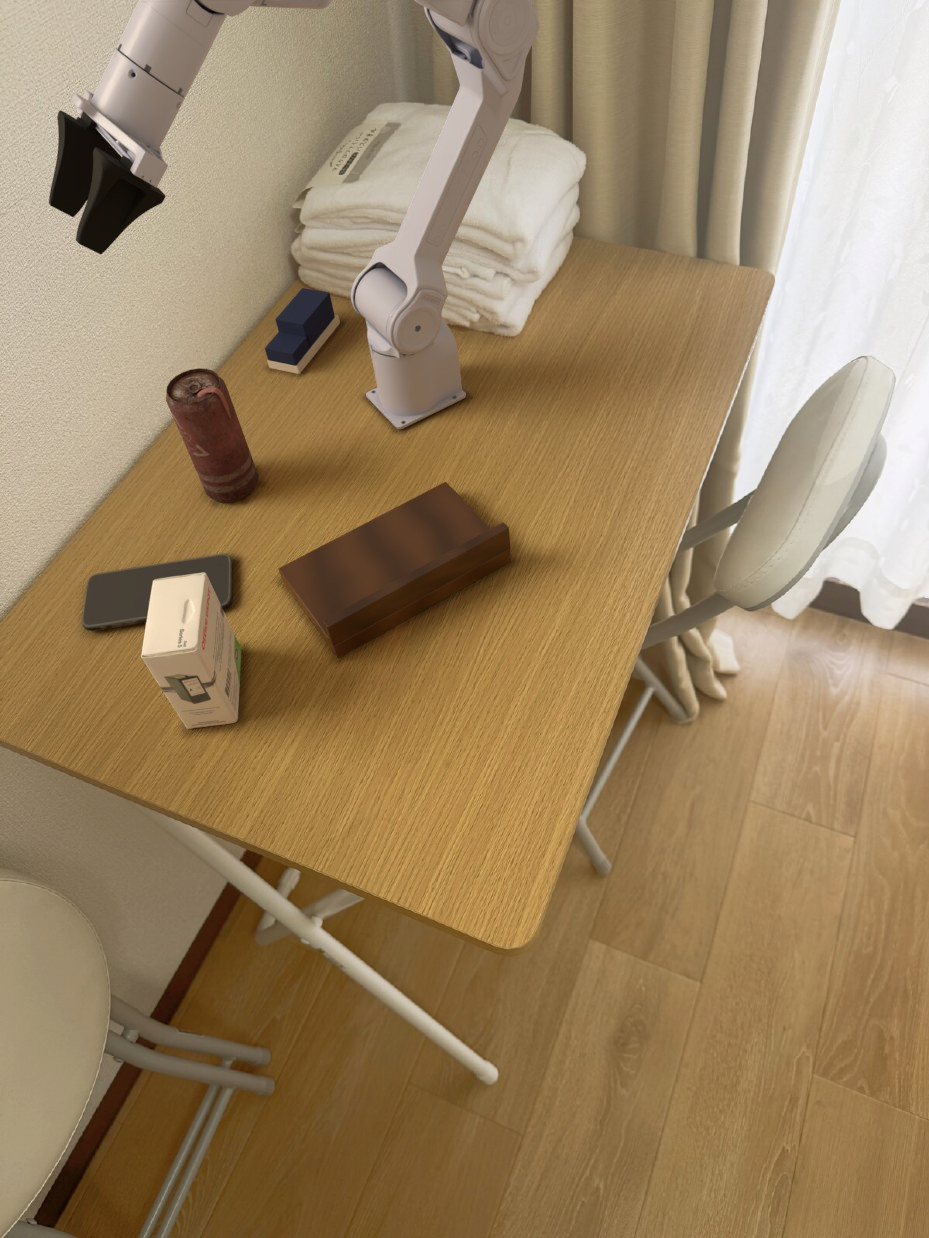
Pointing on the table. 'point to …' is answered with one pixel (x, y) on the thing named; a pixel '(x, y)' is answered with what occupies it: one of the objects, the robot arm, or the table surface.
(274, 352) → the navy block on plinth
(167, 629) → the ink box
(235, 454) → the can
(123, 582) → the smartphone
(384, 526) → the wooden lipped stand
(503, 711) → the table surface
